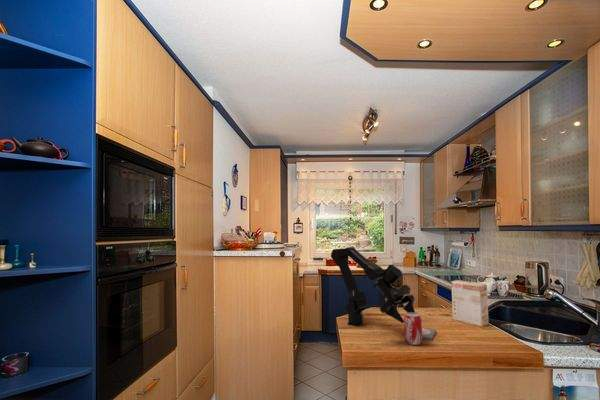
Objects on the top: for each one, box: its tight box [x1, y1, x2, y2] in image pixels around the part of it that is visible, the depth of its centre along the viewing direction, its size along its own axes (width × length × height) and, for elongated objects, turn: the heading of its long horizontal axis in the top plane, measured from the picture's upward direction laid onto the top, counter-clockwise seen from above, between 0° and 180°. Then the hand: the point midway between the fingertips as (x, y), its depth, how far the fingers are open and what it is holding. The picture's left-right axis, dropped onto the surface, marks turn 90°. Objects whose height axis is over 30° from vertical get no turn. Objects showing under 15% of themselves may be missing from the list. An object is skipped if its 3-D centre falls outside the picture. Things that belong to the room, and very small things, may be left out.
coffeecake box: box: [450, 279, 490, 327], centre depth 169 cm, size 15×7×20 cm, turn 34°
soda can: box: [403, 311, 423, 346], centre depth 142 cm, size 7×7×12 cm
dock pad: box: [402, 327, 437, 341], centre depth 152 cm, size 12×12×1 cm
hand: (409, 320), depth 144 cm, fingers open, 9 cm apart
